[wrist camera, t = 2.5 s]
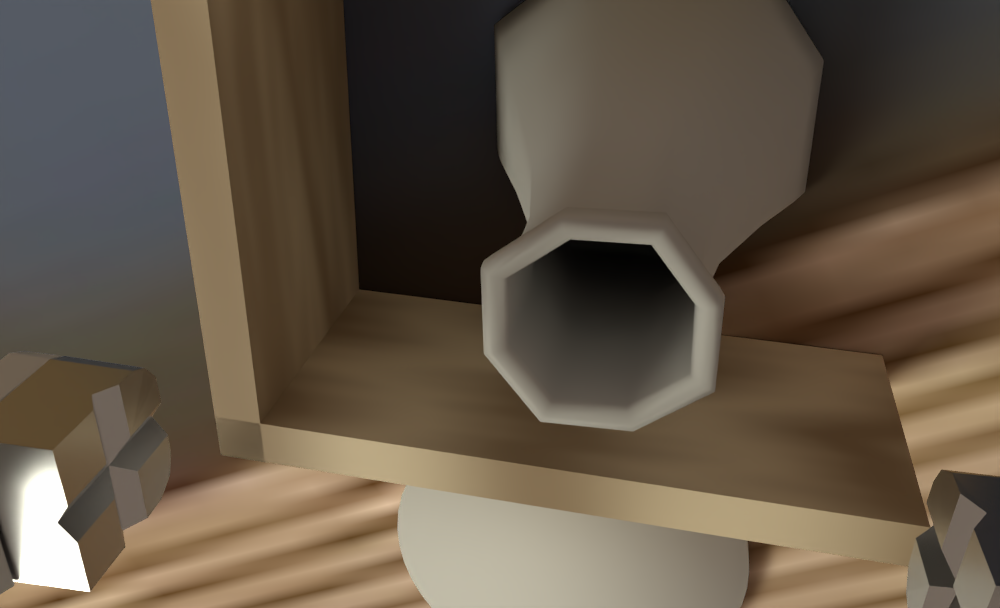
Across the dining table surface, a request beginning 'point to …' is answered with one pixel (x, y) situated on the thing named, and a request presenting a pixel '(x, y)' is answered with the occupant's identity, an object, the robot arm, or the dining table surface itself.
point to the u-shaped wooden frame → (469, 335)
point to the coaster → (560, 557)
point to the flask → (636, 192)
